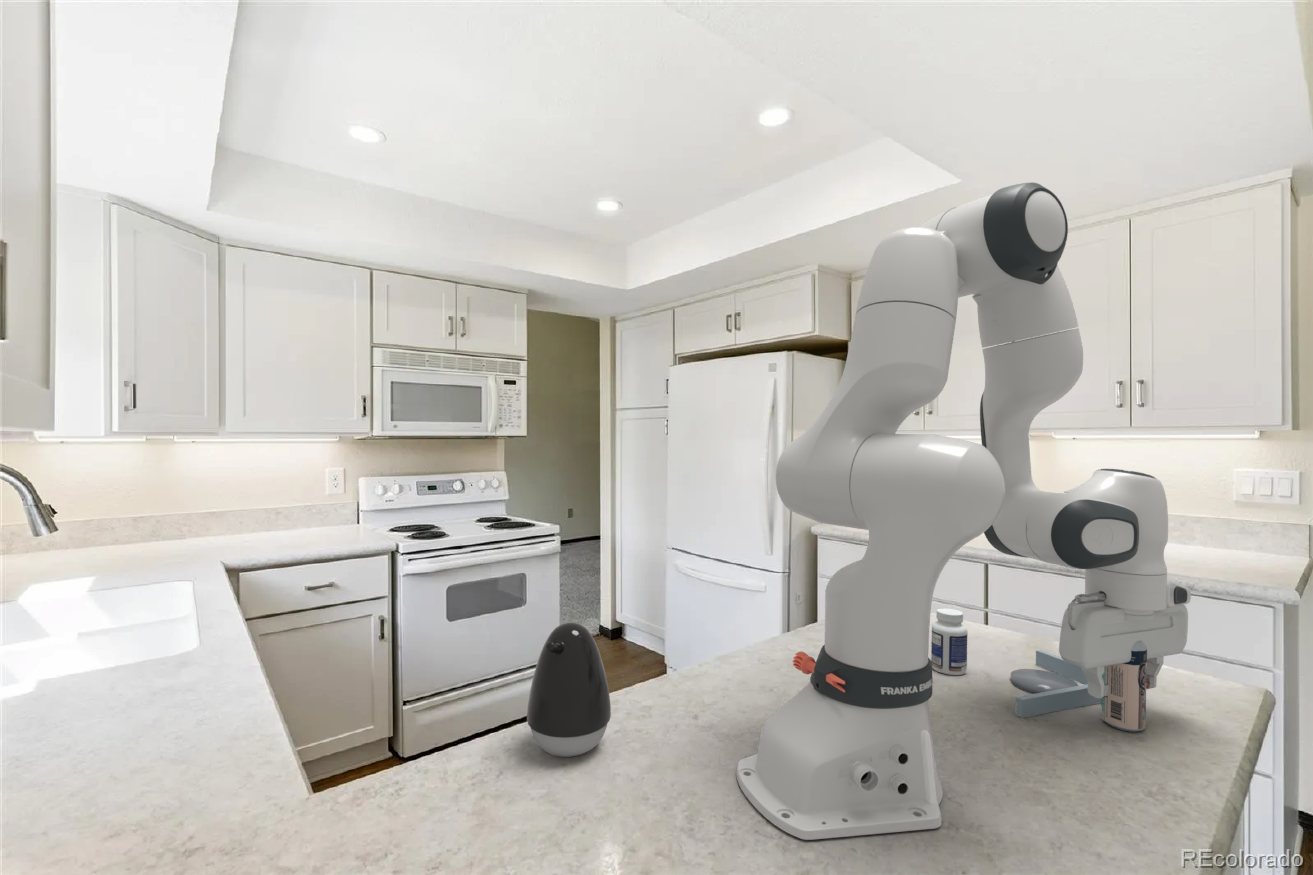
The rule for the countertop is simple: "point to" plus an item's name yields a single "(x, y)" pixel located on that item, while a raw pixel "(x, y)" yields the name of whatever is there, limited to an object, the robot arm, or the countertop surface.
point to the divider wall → (1056, 698)
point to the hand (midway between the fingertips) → (1122, 691)
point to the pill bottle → (949, 643)
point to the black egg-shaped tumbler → (569, 693)
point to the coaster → (1039, 680)
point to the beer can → (1126, 691)
